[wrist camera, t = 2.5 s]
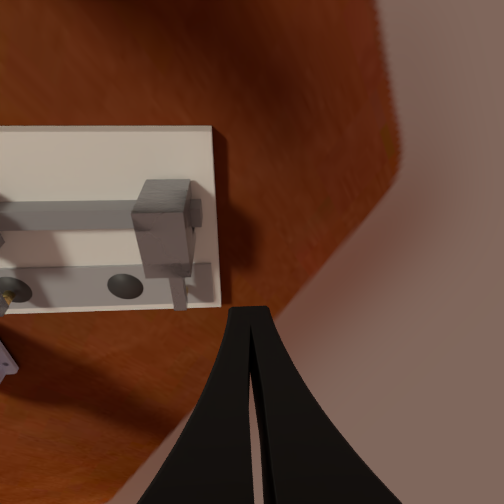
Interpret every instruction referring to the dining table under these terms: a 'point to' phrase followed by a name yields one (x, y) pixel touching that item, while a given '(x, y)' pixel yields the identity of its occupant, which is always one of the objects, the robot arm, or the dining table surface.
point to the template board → (98, 215)
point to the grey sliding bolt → (166, 234)
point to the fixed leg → (5, 293)
